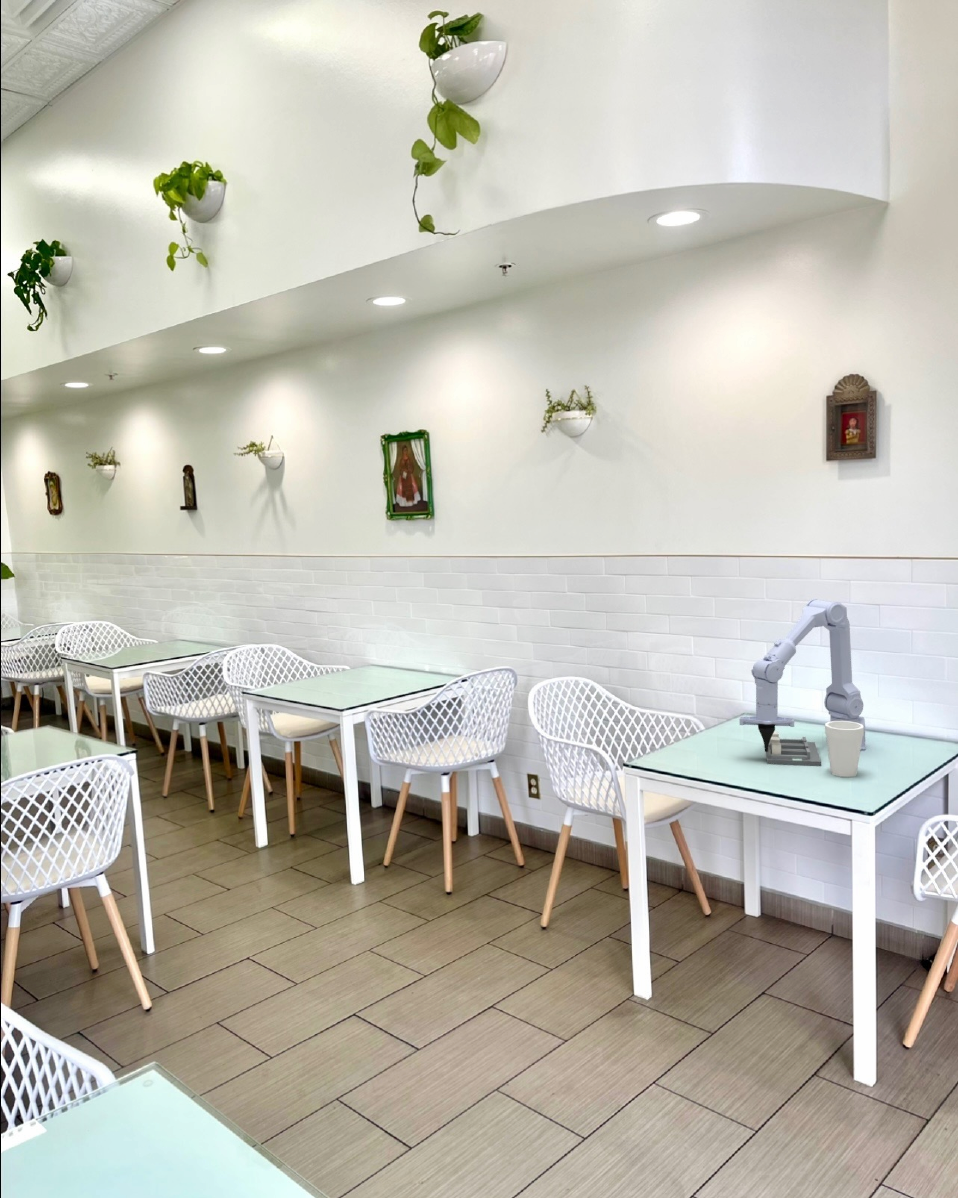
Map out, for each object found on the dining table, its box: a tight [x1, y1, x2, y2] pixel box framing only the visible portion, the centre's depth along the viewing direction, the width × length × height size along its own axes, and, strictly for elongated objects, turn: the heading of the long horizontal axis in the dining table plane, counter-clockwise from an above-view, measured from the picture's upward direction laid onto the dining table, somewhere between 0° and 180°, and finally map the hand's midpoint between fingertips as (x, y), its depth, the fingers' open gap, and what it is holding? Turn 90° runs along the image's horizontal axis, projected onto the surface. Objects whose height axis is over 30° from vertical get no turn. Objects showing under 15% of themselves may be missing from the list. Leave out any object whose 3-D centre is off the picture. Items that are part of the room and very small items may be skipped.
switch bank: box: [765, 736, 822, 767], centre depth 267 cm, size 14×20×3 cm
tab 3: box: [771, 743, 781, 755], centre depth 262 cm, size 2×3×3 cm
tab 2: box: [770, 737, 781, 748], centre depth 268 cm, size 2×3×3 cm
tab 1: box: [769, 731, 780, 743], centre depth 274 cm, size 2×3×3 cm
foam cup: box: [824, 721, 864, 778], centre depth 248 cm, size 10×9×13 cm
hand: (766, 750), depth 263 cm, fingers closed, pressing on switch bank
